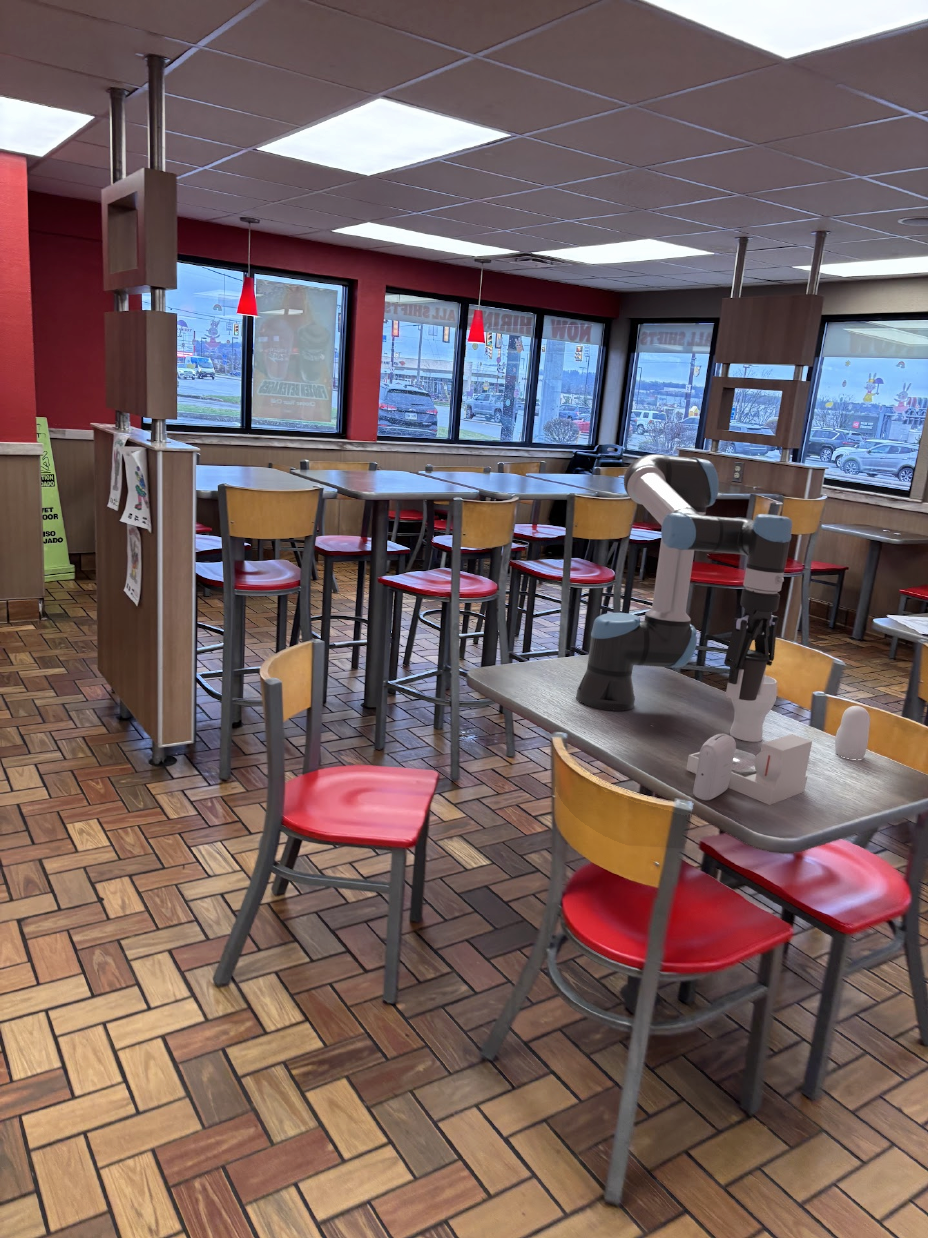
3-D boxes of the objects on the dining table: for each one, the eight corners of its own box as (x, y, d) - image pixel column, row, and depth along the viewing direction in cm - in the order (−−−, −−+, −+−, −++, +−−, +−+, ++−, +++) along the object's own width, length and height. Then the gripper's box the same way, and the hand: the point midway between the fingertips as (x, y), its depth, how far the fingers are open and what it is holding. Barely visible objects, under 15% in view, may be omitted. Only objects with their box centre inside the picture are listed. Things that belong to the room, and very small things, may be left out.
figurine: (863, 753, 219) (873, 706, 216) (866, 763, 212) (876, 715, 209) (832, 747, 221) (841, 700, 218) (834, 757, 214) (844, 709, 211)
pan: (693, 767, 195) (695, 753, 195) (724, 757, 203) (726, 744, 203) (742, 787, 187) (745, 773, 186) (772, 776, 195) (775, 762, 194)
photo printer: (709, 803, 179) (719, 744, 176) (689, 795, 182) (699, 737, 179) (730, 790, 187) (741, 733, 184) (711, 783, 190) (721, 727, 187)
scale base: (686, 769, 196) (694, 719, 193) (722, 758, 205) (730, 710, 202) (773, 806, 181) (783, 753, 178) (807, 792, 190) (818, 741, 188)
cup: (770, 747, 216) (782, 687, 213) (725, 740, 218) (735, 680, 215) (765, 733, 226) (776, 675, 223) (721, 726, 228) (732, 669, 225)
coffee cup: (742, 703, 186) (750, 656, 184) (715, 691, 193) (722, 646, 191) (771, 701, 190) (779, 655, 188) (743, 690, 197) (751, 645, 195)
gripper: (750, 596, 177) (731, 707, 182) (804, 591, 191) (785, 695, 196) (717, 588, 183) (699, 696, 187) (772, 584, 196) (754, 685, 201)
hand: (743, 695), depth 192 cm, fingers closed on coffee cup, 8 cm apart
